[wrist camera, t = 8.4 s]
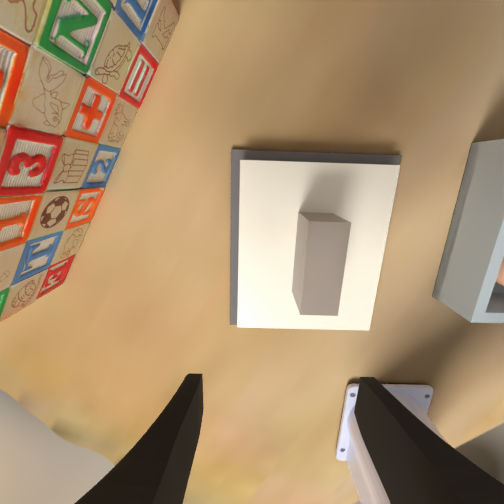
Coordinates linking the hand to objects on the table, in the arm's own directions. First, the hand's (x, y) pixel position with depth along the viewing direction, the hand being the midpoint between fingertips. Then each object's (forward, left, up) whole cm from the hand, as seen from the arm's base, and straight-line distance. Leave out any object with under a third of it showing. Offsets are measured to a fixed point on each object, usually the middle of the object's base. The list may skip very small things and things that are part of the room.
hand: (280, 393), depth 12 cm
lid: (+4, -3, -10) cm, 11 cm away
